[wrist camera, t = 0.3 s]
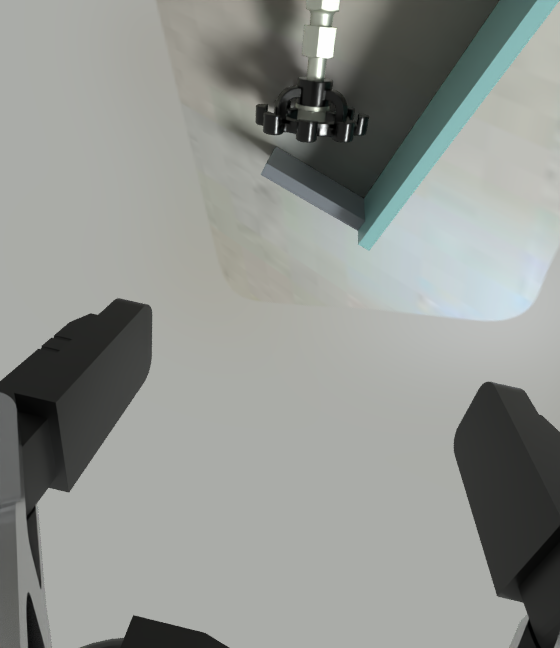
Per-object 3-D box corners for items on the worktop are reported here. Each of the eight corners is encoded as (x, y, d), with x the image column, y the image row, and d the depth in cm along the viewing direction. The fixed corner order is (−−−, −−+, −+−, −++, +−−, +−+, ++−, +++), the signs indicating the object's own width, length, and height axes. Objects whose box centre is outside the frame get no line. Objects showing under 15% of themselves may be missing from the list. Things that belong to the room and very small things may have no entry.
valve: (275, -161, 20) (265, 112, 27) (248, -223, 15) (244, 136, 22) (413, -154, 19) (364, 122, 27) (435, -215, 14) (367, 149, 22)
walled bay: (452, -212, 18) (487, -292, 13) (586, -98, 20) (661, -134, 15) (271, 157, 29) (254, 185, 24) (366, 213, 30) (369, 250, 25)
